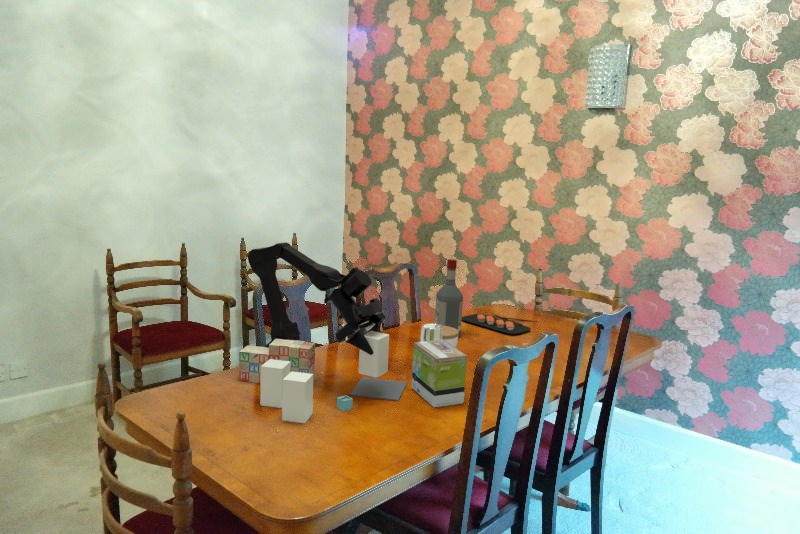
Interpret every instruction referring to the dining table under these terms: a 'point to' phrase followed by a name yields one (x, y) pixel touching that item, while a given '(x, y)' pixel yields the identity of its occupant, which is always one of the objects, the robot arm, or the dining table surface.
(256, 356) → the stack of blocks
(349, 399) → the letter cube
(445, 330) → the lidded bowl
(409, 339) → the dining table surface
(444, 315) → the liquor
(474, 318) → the sushi plate
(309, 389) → the tall white pillar block
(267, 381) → the long cream brick
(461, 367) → the tea box
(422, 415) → the dining table surface
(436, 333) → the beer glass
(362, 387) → the charcoal mat
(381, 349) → the white rectangular prism
